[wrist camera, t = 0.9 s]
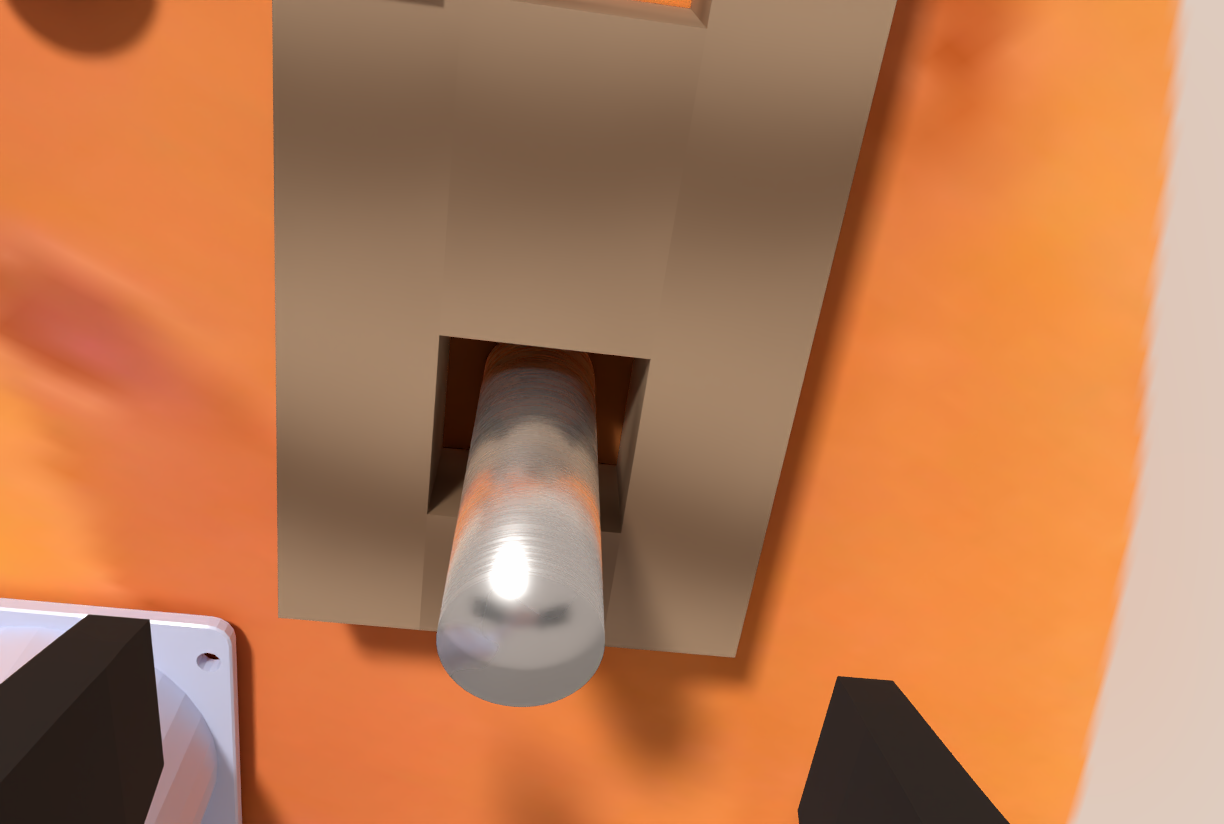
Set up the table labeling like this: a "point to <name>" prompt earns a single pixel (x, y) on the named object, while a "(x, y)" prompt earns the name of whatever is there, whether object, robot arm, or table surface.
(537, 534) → the steel pin
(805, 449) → the table surface
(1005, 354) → the table surface
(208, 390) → the table surface
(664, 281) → the dock board
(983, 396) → the table surface
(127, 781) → the robot arm
